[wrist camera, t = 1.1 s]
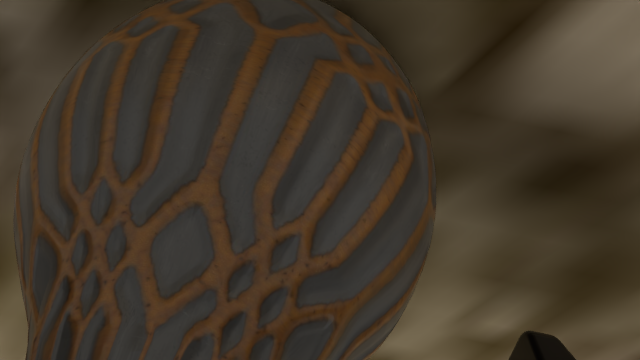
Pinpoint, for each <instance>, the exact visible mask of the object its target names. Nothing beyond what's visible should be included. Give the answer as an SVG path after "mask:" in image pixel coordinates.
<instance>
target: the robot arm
mask: <svg viewBox="0 0 640 360" xmlns="http://www.w3.org/2000/svg"><path fill="white" fill-rule="evenodd" d="M509 360H576V359H575V358H574V357H573V355H572V354H571V353H570V352H569V351H568V350H567V349H566V347H565V346H564V345H563V344H562V343H561V342H560V341H559V340H558V339H557V338H556V337H554V336H552V335H548V334H544V333H539V332H534V331H526V332H524V333H523V334H522V335H521V336H520V338H519V340H518V342H517V344H516V346H515V348H514V350H513V352H512V354H511V356H510V358H509Z"/></svg>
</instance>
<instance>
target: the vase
mask: <svg viewBox="0 0 640 360" xmlns="http://www.w3.org/2000/svg"><path fill="white" fill-rule="evenodd" d="M435 212H436V173H435V163H434V157H433V150H432V145H431V140H430V135H429V132H428V128H427V125H426V121H425V118H424V115H423V112H422V109H421V106H420V104H419V101H418V98H417V96H416V94H415V92H414V90H413V88H412V86H411V84H410V83H409V81H408V79H407V78H406V76H405V74H404V73H403V71H402V70H401V69H400V67H399V66H398V64H397V63H396V62H395V60H394V59H393V58H392V56H391V55H390V54H389V53H388V52H387V50H386V49H385V48H384V47H383V46H382V45H381V44H380V43H379V42H378V40H377V39H376V38H375V37H374V36H373V35H372V34H370V33H369V32H368V31H367V30H366V29H365V28H363V27H362V26H361V25H360V24H358V23H357V22H356V21H354V20H353V19H352V18H350V17H349V16H347V15H345V14H344V13H342V12H341V11H339V10H337V9H336V8H334V7H332V6H330V5H328V4H326V3H324V2H322V1H319V0H165V1H162V2H160V3H158V4H155V5H153V6H151V7H149V8H147V9H145V10H143V11H142V12H140V13H138V14H136V15H134V16H133V17H131V18H129V19H128V20H126V21H124V22H123V23H121V24H120V25H118V26H117V27H116V28H114V29H113V30H112V31H110V32H109V33H108V34H106V35H105V36H104V37H103V38H101V39H100V40H99V41H97V42H96V43H95V44H94V45H93V46H92V47H91V48H90V49H89V50H88V51H86V52H85V54H84V55H83V56H82V57H81V58H80V59H79V60H78V62H77V63H76V64H75V65H74V66H73V67H72V68H71V70H70V71H69V72H68V73H67V74H66V76H65V77H64V78H63V80H62V81H61V83H60V84H59V85H58V87H57V88H56V90H55V92H54V93H53V95H52V96H51V98H50V99H49V101H48V103H47V105H46V107H45V108H44V110H43V112H42V114H41V116H40V118H39V120H38V122H37V124H36V126H35V128H34V131H33V133H32V135H31V138H30V140H29V143H28V146H27V148H26V151H25V154H24V157H23V160H22V164H21V167H20V172H19V176H18V181H17V186H16V191H15V201H14V239H15V248H16V257H17V264H18V270H19V277H20V283H21V289H22V295H23V300H24V305H25V310H26V315H27V322H28V328H29V329H28V347H27V353H26V359H25V360H368V359H369V358H370V357H371V356H372V355H373V354H374V353H375V352H376V351H377V350H378V348H379V347H380V346H381V345H382V343H383V342H384V341H385V339H386V338H387V337H388V335H389V334H390V332H391V331H392V330H393V328H394V327H395V325H396V324H397V322H398V321H399V319H400V317H401V315H402V313H403V311H404V310H405V308H406V306H407V304H408V302H409V300H410V298H411V296H412V294H413V292H414V289H415V287H416V285H417V282H418V280H419V277H420V275H421V272H422V270H423V266H424V263H425V260H426V257H427V254H428V250H429V247H430V243H431V238H432V232H433V226H434V221H435Z"/></svg>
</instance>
